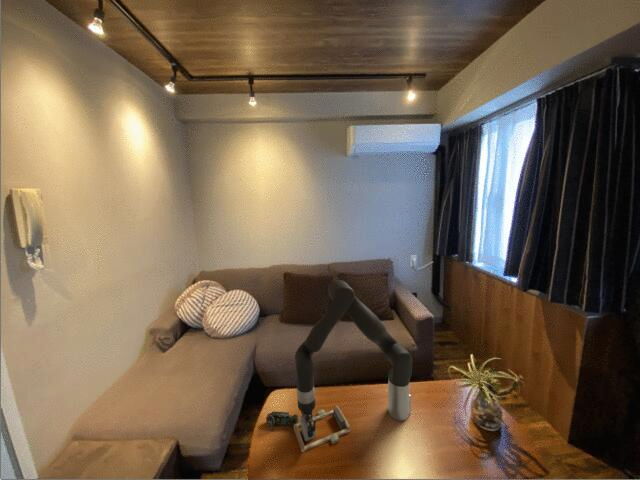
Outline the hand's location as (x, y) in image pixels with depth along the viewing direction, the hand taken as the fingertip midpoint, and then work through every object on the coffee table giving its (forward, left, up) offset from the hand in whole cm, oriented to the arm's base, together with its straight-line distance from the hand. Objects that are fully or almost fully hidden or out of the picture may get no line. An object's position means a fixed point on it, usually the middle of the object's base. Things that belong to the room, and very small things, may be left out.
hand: (308, 430), depth 109 cm
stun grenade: (+10, -9, -2) cm, 13 cm away
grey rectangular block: (0, 0, -2) cm, 2 cm away
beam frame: (-6, 0, -2) cm, 6 cm away
